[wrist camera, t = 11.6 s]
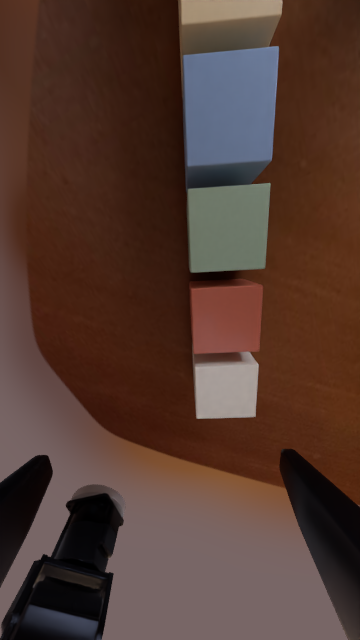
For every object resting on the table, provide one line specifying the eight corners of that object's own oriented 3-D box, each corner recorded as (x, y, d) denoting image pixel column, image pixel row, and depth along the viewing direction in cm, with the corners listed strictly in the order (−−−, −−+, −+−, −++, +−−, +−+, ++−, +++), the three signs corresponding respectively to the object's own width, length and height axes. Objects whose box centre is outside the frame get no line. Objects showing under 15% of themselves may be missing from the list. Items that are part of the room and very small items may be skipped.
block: (250, 93, 13) (282, 14, 9) (182, 99, 13) (181, 24, 9) (253, -3, 12) (292, -151, 8) (178, 4, 12) (175, -135, 8)
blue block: (246, 189, 15) (272, 160, 11) (186, 193, 15) (186, 166, 11) (249, 112, 14) (280, 44, 9) (182, 118, 14) (182, 54, 9)
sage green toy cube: (244, 266, 16) (265, 268, 12) (189, 269, 17) (190, 272, 12) (246, 204, 15) (270, 182, 11) (186, 208, 15) (187, 188, 11)
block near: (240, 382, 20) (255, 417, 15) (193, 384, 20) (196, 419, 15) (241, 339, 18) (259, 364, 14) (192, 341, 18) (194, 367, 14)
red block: (191, 331, 18) (193, 354, 14) (189, 281, 17) (190, 289, 13) (241, 329, 18) (259, 351, 14) (243, 278, 17) (263, 285, 12)
